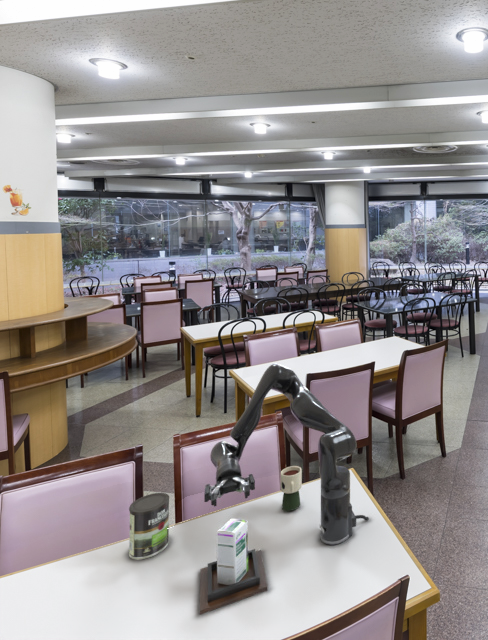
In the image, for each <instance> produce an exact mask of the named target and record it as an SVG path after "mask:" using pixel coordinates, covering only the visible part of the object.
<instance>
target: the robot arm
mask: <svg viewBox="0 0 488 640" xmlns="http://www.w3.org/2000/svg"><path fill="white" fill-rule="evenodd" d="M271 390H272V391H275V392H278V393H280V394H282V395H284V396H285V397H286V398H287V399H288V401H289V409H290V412H291V413H292V415H293V417H294V418H295V419H296V421H298V422H299V424H301V425H302V426H303V427H306V428H308V429H311V430H314V431H317V432H320V433H323V434H321V435H320V436H319V439H318V443H317V456H318V473H319V478H320V523H319V529H320V533H319V534H320V536H319V537H320V540H321V542H322V543H323V544H325V545H330V546H333V545H339V544H341V543H343V542H345V541H346V540H348V539H349V538H350V537H352V536H353V528H355V527H357V520H358V519H363V520H364V521H368V520H369V516H366V515H364V514H358V515H355V513H354V511H353V506H352V503H351V472H350V470H349V469H348V467H345V466H344V465H337V463H338V462H340V461H342V460H344V459H345V460H346V459H347V458H348V457H351V456H352V455H353V454H355V452H356V450H357V447H358V446H357V445H358V444H357V443H358V442H357V439H356V437H355V435H354V433H353V432H352V430H351V429H350V428H349V427H348V426H347V425H346V424H344V423H343V422H342V421H340V420H339V419H338V418H337V417H336V416H334V415H333V414H332V413H331V412H330V411H329V409H327V408H326V407H325V406H324V405H323V403H322V402H321V401H320V400H319V399H318V398H317V397H316V396H315V395H314V394H313V393H312V392H311V391H310V390H309V389H308V388H307V387H306V386H305V385H304V384H303V383H302V381H301V380H300V378H299V377H298V375H297V374H296V372H295V371H294V370H293V369H291V368H289V367H287V366H284V365H282V364H279V363H272V364H270V365H269V366H268V367H267V368H266V369H265V371H264V372H263V374H262V376H261V377H260V380H259V381H258V383H257V386H256V388H255V389H254V392H253V393H252V396H251V398H250V400H249V401H248V404H247V405H246V408H245V409H244V411H243V412H242V414H241V416H240V417H239V419H238V420H237V421H236V422H235V424H234V425H233V427H232V429H231V430H230V432H229V436H230V437H231V438H232V439H233V440H234V441H235V442H236V443H237V444H236V445H234V444H232V443H230V442H228V441H226V440H225V441H224V440H222V441H221V440H220V441H219V442H217V443H216V444H214V446H212V449H211V451H210V455H209V457H210V461H211V463H212V465H213V466H214V468H215V469H216V470H215V484H214V485H211V484H210V483H208V484H206V485H205V487H204V495H203V496H204V498H203V499H204V500H203V502H204V503H208V502H209V501H210V504H211V505H210V506H213V508H214V507H217V503H218V501H217V500H218V499H220V498H222V496H224V495H227V494H229V493H234V492H237V493H240V494H241V493H244V499H248V498H249V497H250V495H251V491H254V490H256V480H255V477H254V474H253V473H250V474H248V476H247V477H243V475H242V470H241V465H240V461H241V458H242V456H243V453H244V450H245V447H246V445H247V443H248V441H249V439H250V437H251V436H252V434H253V433H254V431H255V430H256V428H257V427H258V425H259V423H260V421H261V419H262V418H261V417H262V412H263V405H264V401H265V398H267V397H266V396H267V395H268V394H269V392H270V391H271Z"/></svg>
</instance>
